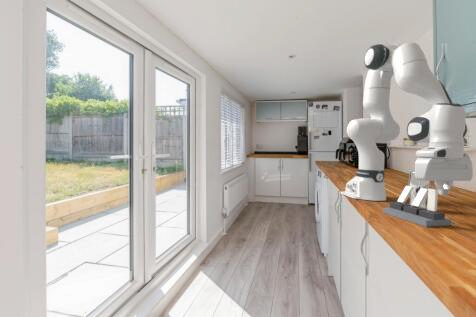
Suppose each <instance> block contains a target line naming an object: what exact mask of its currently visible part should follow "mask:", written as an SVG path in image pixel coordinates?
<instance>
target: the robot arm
mask: <svg viewBox="0 0 476 317" xmlns="http://www.w3.org/2000/svg"><path fill="white" fill-rule="evenodd" d="M363 63H364V67H365V68H366V69H369V70H368V71H367V74H366V76H365V81H364V89H363V95H362V96H363V99H362V106H363V109H365V110H366V111H367V112H368V114H369V115H370V118H367V117H366V118H360V117H359V118H355V119H352V120H350V121H349V123H348V124H347V127H346V135H347V136H348V138H349V139H350V140H352V141H353V143H354V145H355V146H356V150H357V152H358V153H357V154H358V169H355V170H354V172H355V176H354V177H352V178H351V179H350V180H349V181H347V182H346V184H345V190H342V191H340V194H341V195H344V196H347V197H349V198H351V199H353V200H356V199H357V200H364V201H376V202H377V201H379V202H381V201H382V202H385V201H387V195H386V184H385V180H384V179H385V178H386V176H385V175H386V173H385V172H386V171H385V153H384V152H383V151H382V150H380V149H379V148H378V146H377V143H376V142H381V143H386V142H391V141H395V140H396V139H398V137H399V136H400V133H401V128H400V125H399V123H398V122H397V121H396V120H395V118H394V117H393V115H392V112H391V109H390V98H391V97H390V95H391V94H390V93H391V83H392V82H391V81H392V78H393V77H394V79H395V80H394V81H395V82H396V83H395V84H396V85H397V86H398V88H399V89H401V90H402V91H404V92H405V93H408V94H412V95H416V96H418V97H420V98H422V99H424V100H426V102H428V103H429V105H430V106H431V108H430V110H428V111H427V112H425V113H423V114H421V115H419V116H416V117H415V116H414V117H413V118H412V119H410V120H409V122H408V123H407V127H406V135H407V137H408V139H410V141H412V142H414V143H418V144H419V143H421V144H425V143H426V144H428V146H425V147H423V148H421V149H418V150H416V151H415V156H416V157H417V158H416V160H415V162H414V172H415V177H416V179H417V180H422V181H430V182H434V185H435V189H436V190H438V195H440V196H444V195H450V190H451V188H452V186H453V185H454V182H458V181H459V182H461V181H462V182H469V181H472V179H473V178H474V177H473V175H474V174H473V173H474V172H473V171H474V170H473V162H472V160H471V157H470V156H469V155H468V153H467V152H465V140H464V138H465V137H466V135H467V132H468V126H467V123H466V111H465V107H464V105H463V104H460V103H453V101H452V98H451V97H450V95H449V93H448V91H447V89H446V88H445V86H444V84H443V83H442V82H441V81H440V80H439V79H438V78H437V77H436V76H435V75H434V73H433V72H432V69H431V68H430V66H429V64H428V61H427V58H426V55H425V53H424V51H423V49H422V48H421V47H420V45H419V44H418V43H417V42H413V41H412V42H406V43H403V44H400V43H399V44H397V43H395V44H381V43H379V44H374V45H371V46H369V48H368V49H367V50H366V52H365V54H364V57H363Z"/></svg>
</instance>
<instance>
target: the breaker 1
mask: <svg viewBox="0 0 476 317" xmlns="http://www.w3.org/2000/svg"><path fill="white" fill-rule="evenodd" d="M412 190H413V187H412V186H409V185H405V186H404V189H403V190H402V192H401V194H400V195H399V197H398V199H397V202H399V203H403V204H405V203H406V202H407V200H408V198H410V193H411V192H412Z"/></svg>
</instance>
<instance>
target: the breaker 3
mask: <svg viewBox="0 0 476 317" xmlns="http://www.w3.org/2000/svg"><path fill="white" fill-rule="evenodd" d="M438 195H439V194H438V190H437V188H429V189H428V194H427V204H426V209H427V210H431V211H437V212H438V198H439V196H438Z"/></svg>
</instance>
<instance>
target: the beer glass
mask: <svg viewBox="0 0 476 317" xmlns="http://www.w3.org/2000/svg"><path fill="white" fill-rule="evenodd" d="M430 182H431V181H422V180H417V179H416V177H415V171H410V172H409V174H408V185H407V186H412V187H413V190H412V192H411V193H410V195H409V203H408V204H410V205H411V206H412V203H413V201H414V199H415V198H416V196H417V194H418V192H419V191H420V189H421V188H423V189H430ZM427 198H428V195H427V196H426V197H425V199H424V201H423V203H422V205H421V206H420V207H421V208H425V209H427V204H426V202H427Z"/></svg>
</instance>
